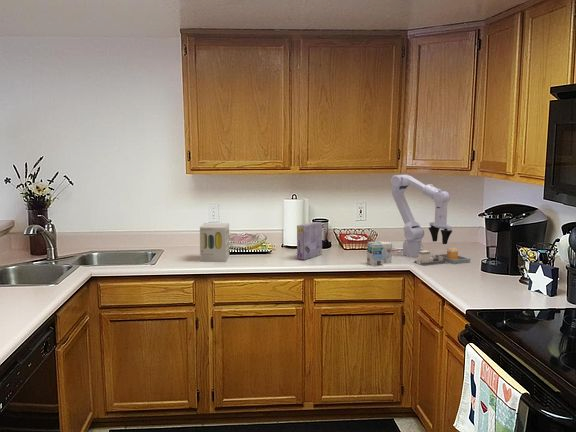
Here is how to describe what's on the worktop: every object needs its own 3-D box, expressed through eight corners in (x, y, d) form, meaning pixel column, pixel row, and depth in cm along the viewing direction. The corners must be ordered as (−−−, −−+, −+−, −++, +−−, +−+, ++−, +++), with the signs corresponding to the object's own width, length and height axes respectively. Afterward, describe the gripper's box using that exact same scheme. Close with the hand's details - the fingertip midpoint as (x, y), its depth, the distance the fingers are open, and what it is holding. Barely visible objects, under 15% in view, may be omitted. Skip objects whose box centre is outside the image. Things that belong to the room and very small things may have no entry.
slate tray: (435, 260, 283) (435, 254, 283) (450, 258, 287) (451, 253, 287) (453, 266, 270) (454, 260, 270) (470, 264, 274) (470, 258, 274)
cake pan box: (315, 253, 299) (316, 220, 296) (323, 254, 296) (324, 221, 294) (295, 259, 283) (296, 225, 281) (304, 260, 280) (304, 226, 278)
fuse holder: (412, 264, 274) (412, 257, 274) (435, 261, 280) (435, 254, 279) (423, 268, 266) (424, 260, 266) (447, 265, 272) (447, 258, 271)
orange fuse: (446, 260, 279) (447, 248, 278) (453, 259, 281) (454, 248, 280) (450, 261, 276) (451, 250, 275) (457, 261, 278) (458, 249, 277)
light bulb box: (371, 266, 269) (372, 244, 268) (366, 263, 276) (366, 241, 274) (392, 265, 272) (392, 243, 271) (386, 262, 279) (386, 240, 277)
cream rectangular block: (417, 263, 272) (418, 251, 271) (425, 262, 274) (426, 250, 273) (421, 264, 269) (422, 252, 268) (429, 263, 271) (430, 251, 270)
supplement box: (199, 261, 277) (199, 226, 275) (204, 256, 290) (203, 222, 288) (226, 262, 277) (225, 227, 274) (229, 256, 290) (229, 223, 287)
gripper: (425, 214, 281) (424, 240, 282) (444, 218, 267) (442, 245, 269) (436, 213, 283) (435, 239, 285) (455, 217, 270) (454, 244, 272)
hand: (439, 242), depth 278 cm, fingers open, 7 cm apart
